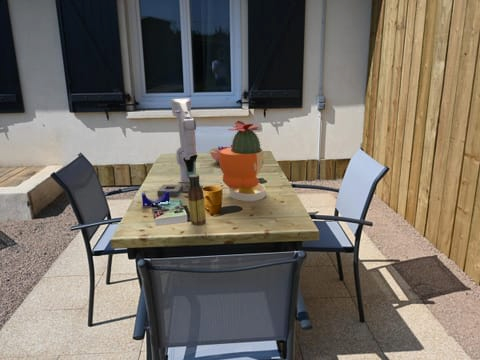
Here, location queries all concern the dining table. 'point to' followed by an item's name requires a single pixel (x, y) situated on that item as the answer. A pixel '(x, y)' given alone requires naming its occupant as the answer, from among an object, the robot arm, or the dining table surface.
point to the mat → (188, 189)
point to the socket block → (170, 190)
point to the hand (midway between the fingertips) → (191, 170)
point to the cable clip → (162, 199)
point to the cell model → (217, 152)
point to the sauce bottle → (196, 201)
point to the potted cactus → (243, 164)
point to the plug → (193, 170)
